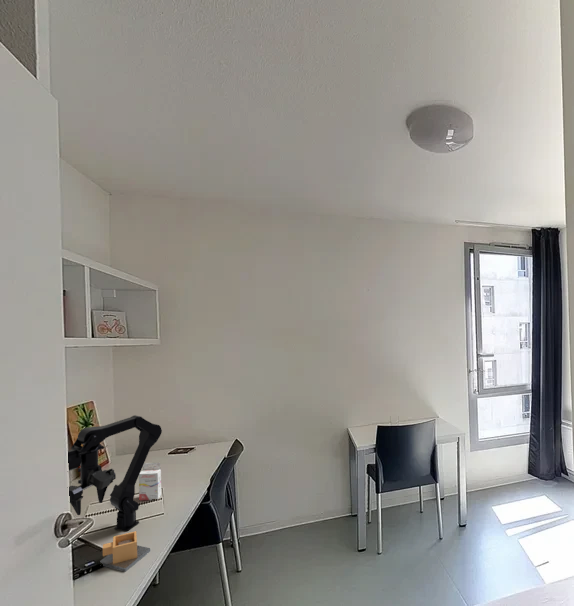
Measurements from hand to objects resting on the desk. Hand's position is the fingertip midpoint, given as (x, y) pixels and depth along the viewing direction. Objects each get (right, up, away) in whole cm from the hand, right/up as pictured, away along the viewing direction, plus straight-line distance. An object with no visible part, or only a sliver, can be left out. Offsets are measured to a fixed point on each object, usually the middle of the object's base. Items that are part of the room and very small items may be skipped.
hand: (90, 508), depth 135 cm
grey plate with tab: (+17, -11, -10) cm, 23 cm away
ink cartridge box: (+10, -14, +33) cm, 37 cm away
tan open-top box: (+16, -10, -11) cm, 21 cm away
